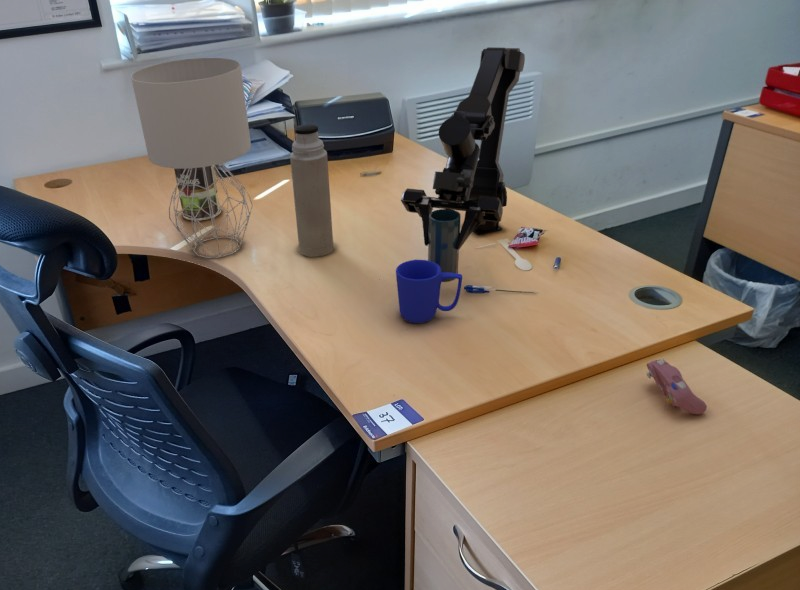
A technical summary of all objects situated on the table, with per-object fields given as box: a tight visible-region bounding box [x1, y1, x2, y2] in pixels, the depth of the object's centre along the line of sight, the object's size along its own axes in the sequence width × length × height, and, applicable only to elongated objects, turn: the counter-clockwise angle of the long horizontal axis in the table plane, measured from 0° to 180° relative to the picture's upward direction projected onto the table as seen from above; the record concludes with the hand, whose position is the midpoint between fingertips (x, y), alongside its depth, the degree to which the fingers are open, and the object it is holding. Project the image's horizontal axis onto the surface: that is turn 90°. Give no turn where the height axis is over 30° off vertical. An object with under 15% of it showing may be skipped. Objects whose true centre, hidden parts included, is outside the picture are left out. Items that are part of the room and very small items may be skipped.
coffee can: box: [173, 165, 222, 222], centre depth 177 cm, size 10×10×14 cm
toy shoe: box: [645, 358, 708, 415], centre depth 104 cm, size 10×5×7 cm, turn 5°
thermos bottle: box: [289, 123, 334, 258], centre depth 150 cm, size 8×8×28 cm
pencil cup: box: [427, 208, 461, 283], centre depth 131 cm, size 6×6×13 cm
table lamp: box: [130, 57, 254, 259], centre depth 151 cm, size 22×22×40 cm
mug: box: [395, 259, 463, 324], centre depth 127 cm, size 8×12×10 cm
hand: (441, 247), depth 130 cm, fingers closed on pencil cup, 6 cm apart
